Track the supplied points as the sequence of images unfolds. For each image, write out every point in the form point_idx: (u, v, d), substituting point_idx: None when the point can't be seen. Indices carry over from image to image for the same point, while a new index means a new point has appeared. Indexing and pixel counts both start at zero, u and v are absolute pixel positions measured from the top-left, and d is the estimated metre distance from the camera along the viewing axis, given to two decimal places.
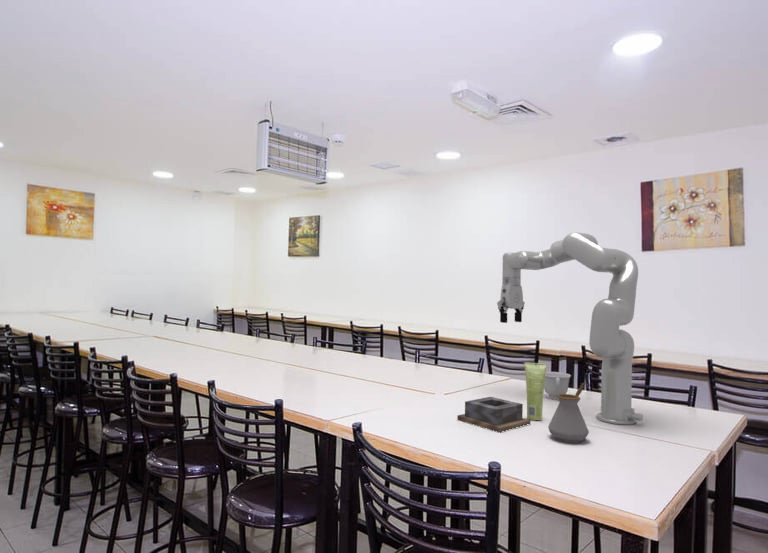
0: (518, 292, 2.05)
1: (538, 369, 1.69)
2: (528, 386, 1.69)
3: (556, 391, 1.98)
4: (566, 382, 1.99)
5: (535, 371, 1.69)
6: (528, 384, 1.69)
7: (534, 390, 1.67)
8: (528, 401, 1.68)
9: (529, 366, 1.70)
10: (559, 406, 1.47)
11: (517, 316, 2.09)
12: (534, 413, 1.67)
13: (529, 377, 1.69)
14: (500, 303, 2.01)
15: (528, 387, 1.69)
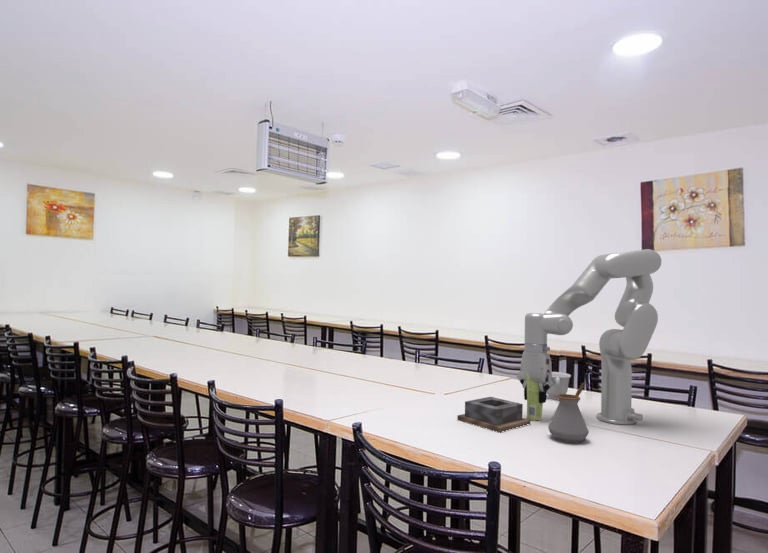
0: None
1: None
2: (528, 386, 1.69)
3: (556, 391, 1.98)
4: (566, 382, 1.99)
5: None
6: (529, 384, 1.68)
7: (534, 390, 1.67)
8: (528, 401, 1.68)
9: None
10: (559, 406, 1.47)
11: None
12: (534, 413, 1.67)
13: (529, 377, 1.68)
14: None
15: (528, 387, 1.69)
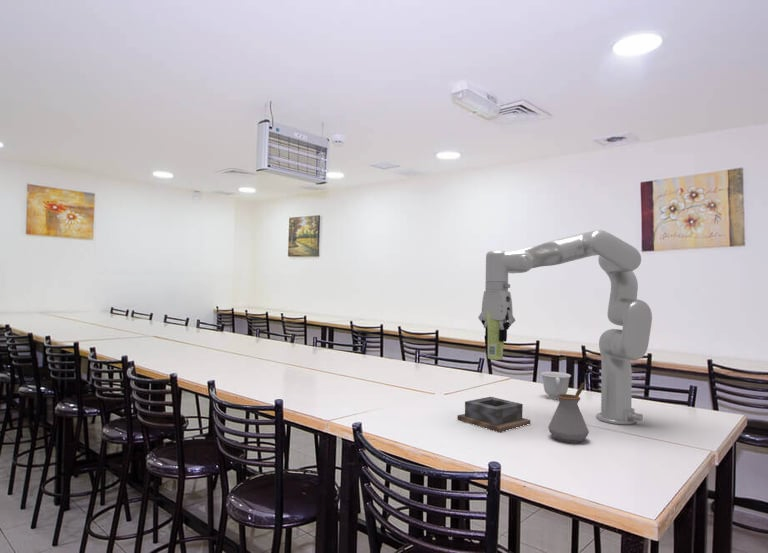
0: None
1: None
2: (489, 325, 1.65)
3: (556, 391, 1.98)
4: (566, 382, 1.99)
5: None
6: (489, 322, 1.64)
7: (495, 329, 1.63)
8: (489, 340, 1.64)
9: None
10: (559, 406, 1.47)
11: None
12: (495, 352, 1.63)
13: (490, 316, 1.65)
14: None
15: (489, 326, 1.65)
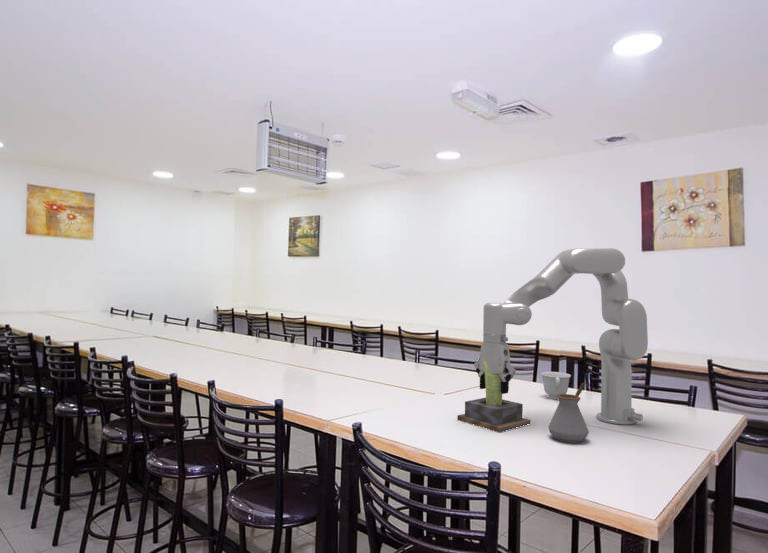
0: None
1: None
2: (487, 384, 1.63)
3: (556, 391, 1.98)
4: (566, 382, 1.99)
5: None
6: (487, 381, 1.63)
7: (493, 388, 1.62)
8: (487, 399, 1.63)
9: None
10: (559, 406, 1.47)
11: (484, 382, 1.68)
12: None
13: (488, 375, 1.63)
14: None
15: (487, 385, 1.64)
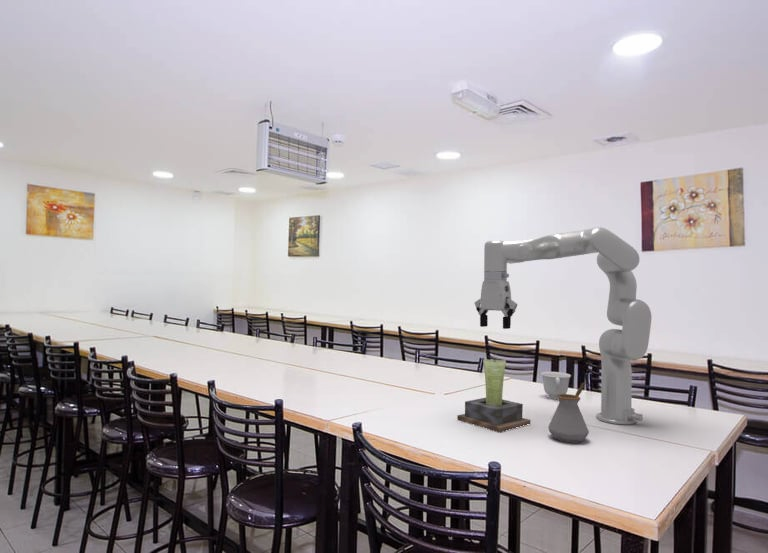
0: None
1: (497, 366, 1.64)
2: (487, 383, 1.64)
3: (556, 391, 1.98)
4: (566, 382, 1.99)
5: (494, 368, 1.64)
6: (487, 381, 1.64)
7: (493, 387, 1.63)
8: (487, 399, 1.64)
9: (488, 363, 1.65)
10: (559, 406, 1.47)
11: (484, 319, 1.69)
12: None
13: (488, 374, 1.64)
14: None
15: (487, 385, 1.64)
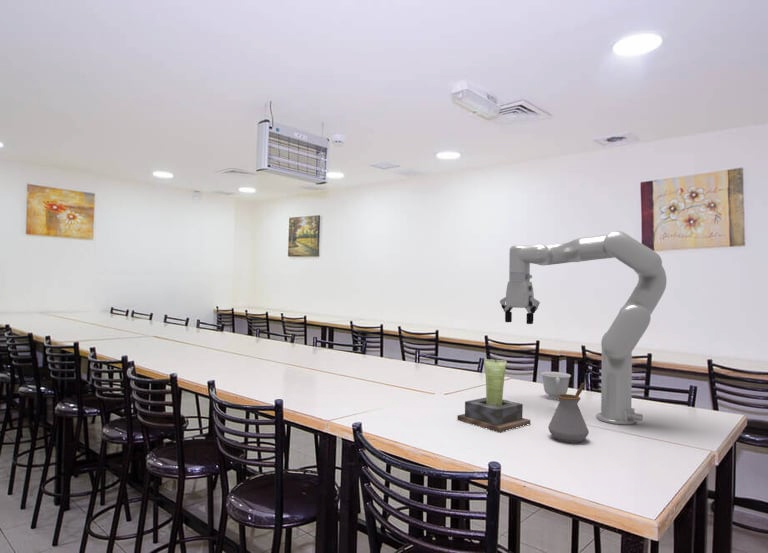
0: None
1: (498, 366, 1.64)
2: (487, 383, 1.64)
3: (556, 391, 1.98)
4: (566, 382, 1.99)
5: (495, 368, 1.64)
6: (488, 381, 1.64)
7: (493, 387, 1.63)
8: (488, 399, 1.64)
9: (489, 363, 1.65)
10: (559, 406, 1.47)
11: (509, 316, 1.88)
12: None
13: (489, 374, 1.64)
14: None
15: (487, 384, 1.64)
